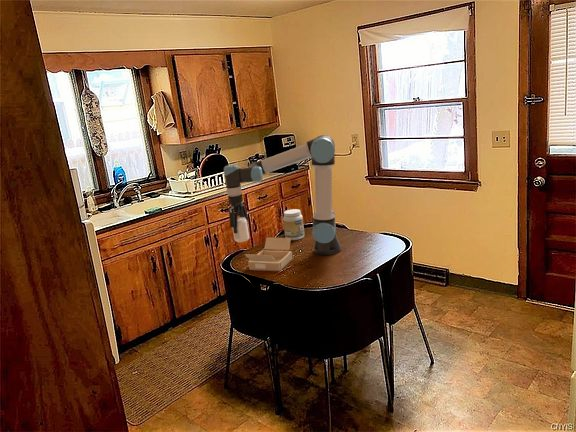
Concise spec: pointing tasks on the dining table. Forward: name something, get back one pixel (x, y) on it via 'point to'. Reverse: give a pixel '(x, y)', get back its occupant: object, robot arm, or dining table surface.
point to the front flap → (260, 257)
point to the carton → (281, 262)
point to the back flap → (277, 243)
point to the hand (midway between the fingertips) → (241, 235)
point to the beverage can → (242, 230)
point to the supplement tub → (293, 224)
